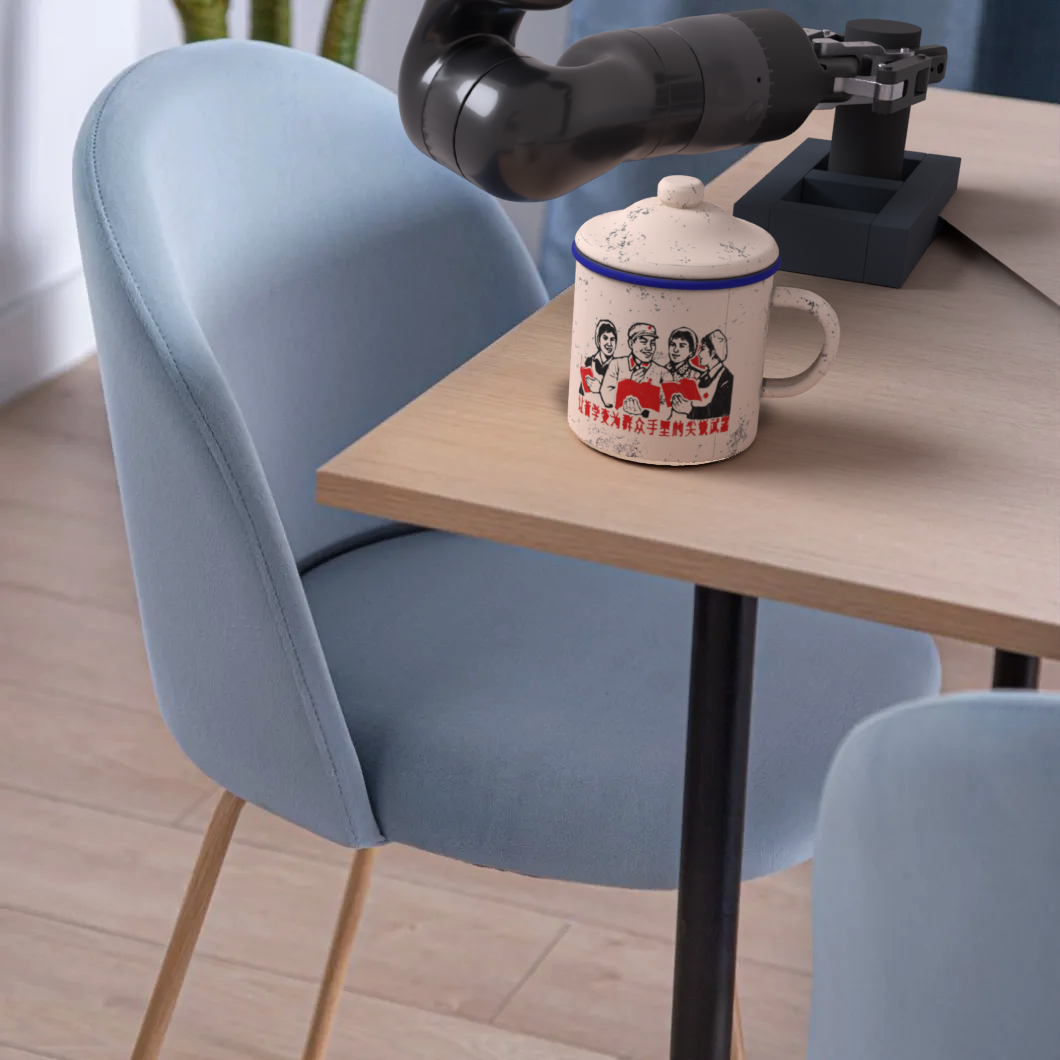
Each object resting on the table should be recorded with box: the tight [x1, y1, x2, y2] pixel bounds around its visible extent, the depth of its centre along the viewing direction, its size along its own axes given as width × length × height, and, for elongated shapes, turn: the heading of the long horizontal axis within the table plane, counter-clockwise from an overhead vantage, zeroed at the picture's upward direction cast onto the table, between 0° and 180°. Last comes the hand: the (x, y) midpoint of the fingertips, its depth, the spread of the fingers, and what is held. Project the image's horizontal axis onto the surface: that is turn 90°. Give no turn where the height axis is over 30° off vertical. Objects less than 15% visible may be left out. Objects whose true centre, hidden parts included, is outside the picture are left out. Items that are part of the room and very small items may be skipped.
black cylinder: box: [828, 18, 923, 181], centre depth 110 cm, size 5×5×11 cm
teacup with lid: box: [567, 174, 841, 463], centre depth 78 cm, size 12×9×12 cm
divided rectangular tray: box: [732, 136, 962, 289], centre depth 109 cm, size 10×18×4 cm, turn 158°
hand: (906, 55), depth 110 cm, fingers closed on black cylinder, 4 cm apart
